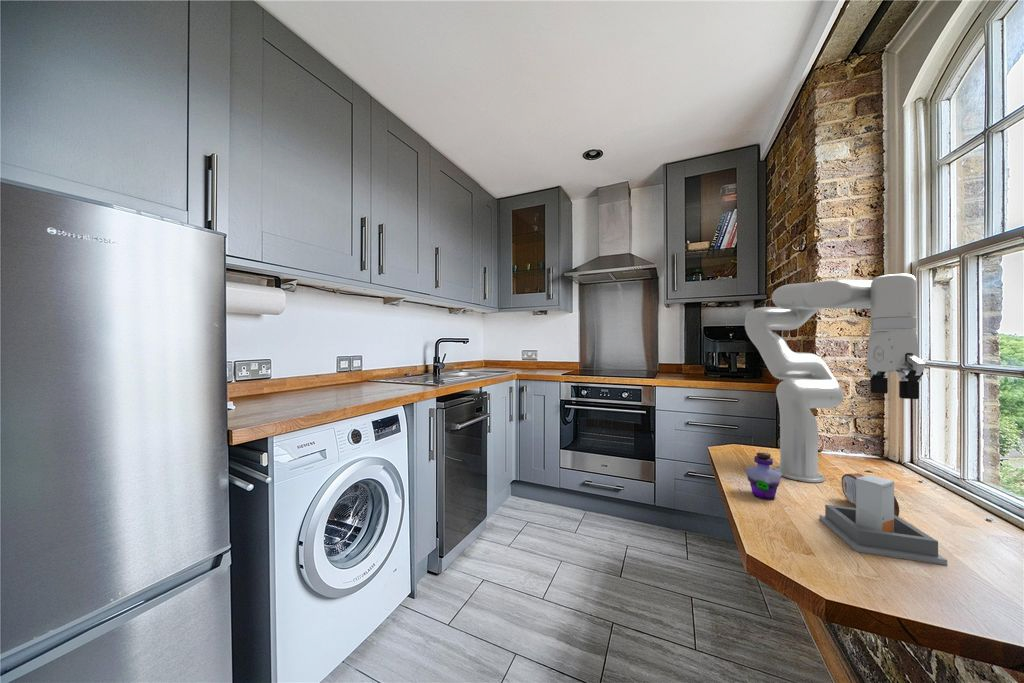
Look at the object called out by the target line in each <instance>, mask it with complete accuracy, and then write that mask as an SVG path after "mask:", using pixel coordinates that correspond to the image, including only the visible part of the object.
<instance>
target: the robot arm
mask: <svg viewBox="0 0 1024 683" xmlns="http://www.w3.org/2000/svg"><path fill="white" fill-rule="evenodd" d="M771 301H772V302H773V304H774V306H761V307H756V308H753V309H751V310H750V311H749V312H747V313H746V316H745V319H744V330H745V332H746V335H747V336H748V338H749V339H750V341H751V342H752V344H753V345H754V346H755V348H756V349H757V351H758V352H759V354H760V356H761V358H762V360H763V361H764V364H765V365H766V367H767V369H768V371H769V373H770V374H771V375H772V377H774V378H775V379H778V380H782V381H781V382H779V383H778V385H777V386H776V389H775V390H776V391H775V394H776V400H777V403H778V408H779V427H780V428H779V429H780V430H779V435H780V437H779V438H780V440H779V446H780V448H779V451H780V453H779V458H780V459H779V460H780V461H779V463H780V464H779V465H776V466H774V468H773V470H775V471H777V472H780V473H782V475H781V477H784V478H786V479H787V478H788V479H790V480H795V481H798V480H799V481H800V482H806V483H823V482H824V481H825V476H824V475H823V474H822V473H820V472H819V452H818V451H819V450H818V449H819V443H818V442H819V431H818V428H819V424H818V421H817V419H816V417H815V415H814V414H813V412H812V410H811V409H834V408H837V407H839V406H841V404H842V403H843V401H844V392H843V389H842V387H841V385H840V383H839V382H838V380H837V379H836V378H835V376H834V374H833V373H832V370H830V367H829V366H828V365H827V364H826V361H825V360H823V359H822V358H821V357H820V356H818V355H817V354H815V353H812V352H795V351H793V350H792V349H791V348H790V347H789V345H788V343H787V342H786V340H785V339H784V338H782V337H781V336H780V335H779V334H777V333H775V331H793V330H796V329H799V328H801V327H802V326H803V325H804V324H806V323H807V321H808V320H809V319H811V318H812V317H813V316H814V315H815V314H816V313H817V312H818V311H819V310H821V309H859V310H860V309H862V310H863V309H866V310H870V334H869V337H868V344H867V350H866V362H865V363H866V368H867V371H868V373H869V374H868V376H869V378H870V381H869V382H870V383H869V384H870V394H871V393H872V394H883V395H884V394H885V395H887V394H888V393H889V386H888V385H889V383H888V382H889V380H888V379H889V378H888V377H887V375H888V373H895V372H896V373H897V374H898V376H899V378H900V379H901V380H899V381H898V397H899V398H900V399H906V400H907V399H909V400H918V399H920V383H921V381H922V377H923V375H924V371H925V368H926V366H927V365H926V364H927V363H926V362H924V361H923V360H922V359H920V350H919V349H920V348H919V341H918V337H917V336H918V335H917V333H916V332H917V279H916V277H915V276H914V275H912V274H910V273H895V274H893V273H892V274H885V275H880V276H877V277H874V278H873V279H871V280H869V279H867V280H865V279H864V280H863V279H857V280H856V279H852V280H851V279H843V280H842V279H840V280H823V281H813V282H811V281H810V282H799V283H789V284H785V285H781V286H779V287H777V288H776V289H775V290H774V291H773V293H772V294H771Z"/></svg>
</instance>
